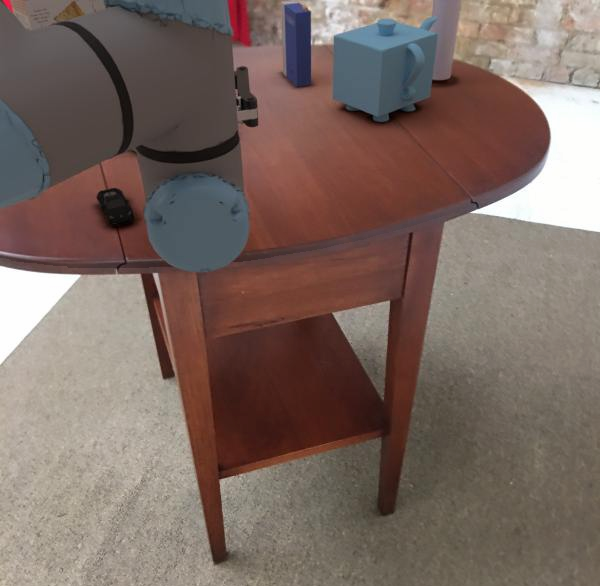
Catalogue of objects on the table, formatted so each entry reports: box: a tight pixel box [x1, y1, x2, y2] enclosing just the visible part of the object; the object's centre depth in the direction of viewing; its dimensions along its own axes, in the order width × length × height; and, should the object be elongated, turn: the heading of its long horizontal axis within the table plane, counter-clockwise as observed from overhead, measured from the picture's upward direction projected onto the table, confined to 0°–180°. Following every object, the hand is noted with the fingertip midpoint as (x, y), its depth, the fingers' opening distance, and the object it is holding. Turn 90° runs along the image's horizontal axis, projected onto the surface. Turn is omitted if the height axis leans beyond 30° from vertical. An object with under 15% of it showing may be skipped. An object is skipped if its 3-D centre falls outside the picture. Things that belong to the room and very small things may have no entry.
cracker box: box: [9, 0, 106, 30], centre depth 101 cm, size 14×6×21 cm, turn 132°
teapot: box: [332, 16, 438, 123], centre depth 102 cm, size 18×16×13 cm
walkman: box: [280, 0, 312, 88], centre depth 111 cm, size 8×3×12 cm, turn 20°
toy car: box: [96, 187, 135, 227], centre depth 81 cm, size 8×4×2 cm, turn 25°
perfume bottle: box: [430, 0, 462, 81], centre depth 107 cm, size 6×6×20 cm
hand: (181, 60), depth 72 cm, fingers closed on beverage can, 6 cm apart
